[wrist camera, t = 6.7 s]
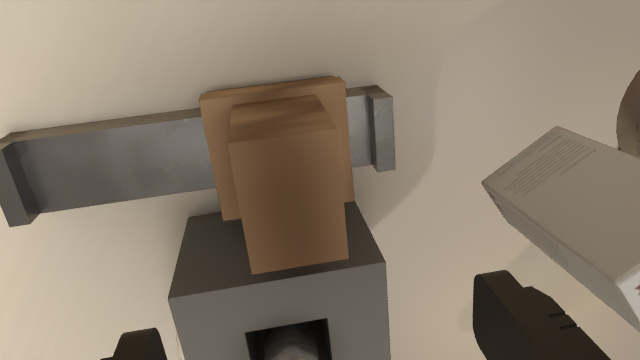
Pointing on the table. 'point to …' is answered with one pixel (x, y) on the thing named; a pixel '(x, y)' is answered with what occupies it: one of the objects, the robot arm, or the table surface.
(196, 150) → the rail
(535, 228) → the skincare box
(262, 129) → the stepped wooden block
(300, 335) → the plunger
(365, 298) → the cabinet
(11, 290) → the table surface
